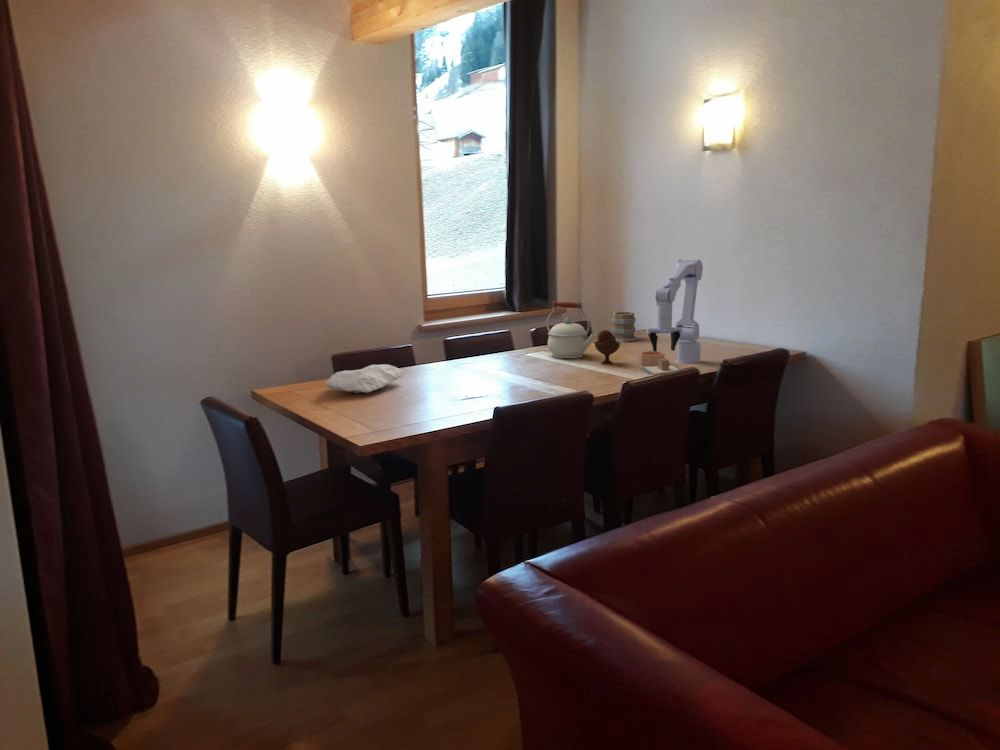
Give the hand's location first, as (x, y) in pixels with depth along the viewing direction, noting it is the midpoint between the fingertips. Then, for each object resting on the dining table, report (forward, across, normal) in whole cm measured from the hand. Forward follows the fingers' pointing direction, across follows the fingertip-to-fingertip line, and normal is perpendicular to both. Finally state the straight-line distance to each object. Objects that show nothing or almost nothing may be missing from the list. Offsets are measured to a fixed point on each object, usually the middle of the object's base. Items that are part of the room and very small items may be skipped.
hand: (663, 350), depth 309 cm
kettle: (+9, -29, +41) cm, 51 cm away
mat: (+9, 0, 0) cm, 9 cm away
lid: (+8, 0, 0) cm, 8 cm away
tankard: (+9, +6, +80) cm, 80 cm away
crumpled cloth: (+9, -122, -4) cm, 122 cm away
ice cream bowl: (+9, -18, +20) cm, 28 cm away
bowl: (+9, 0, +14) cm, 16 cm away
